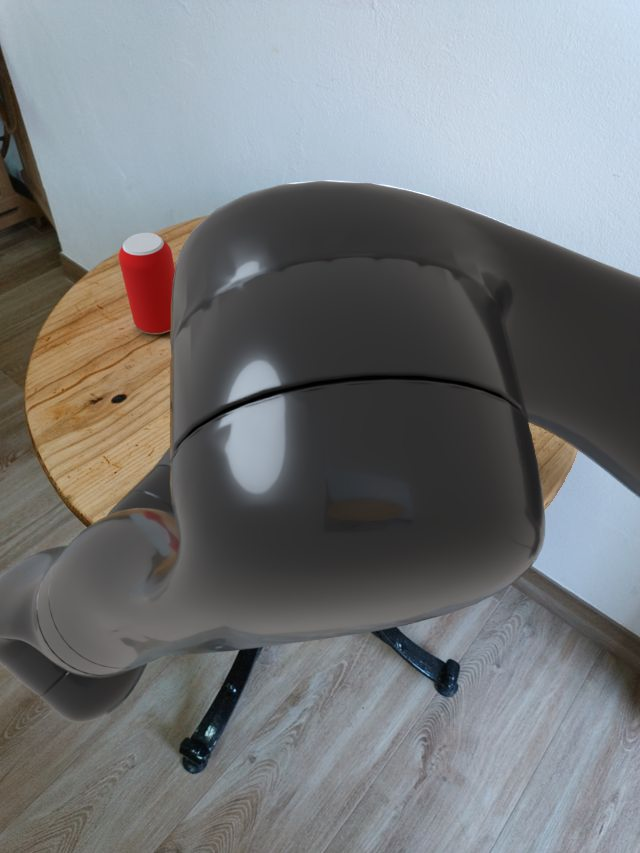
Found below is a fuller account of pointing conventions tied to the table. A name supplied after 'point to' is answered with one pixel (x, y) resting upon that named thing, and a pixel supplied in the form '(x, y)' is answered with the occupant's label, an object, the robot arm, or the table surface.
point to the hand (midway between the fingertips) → (337, 339)
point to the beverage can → (148, 281)
